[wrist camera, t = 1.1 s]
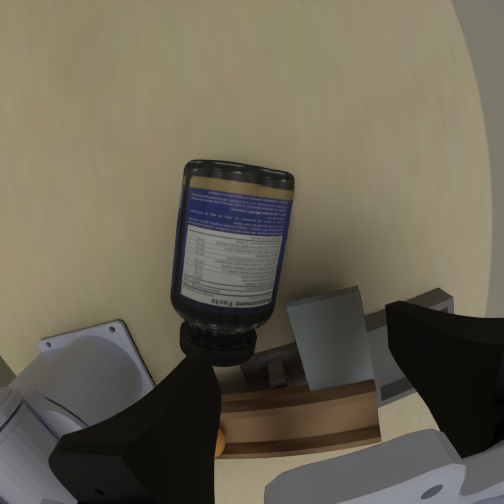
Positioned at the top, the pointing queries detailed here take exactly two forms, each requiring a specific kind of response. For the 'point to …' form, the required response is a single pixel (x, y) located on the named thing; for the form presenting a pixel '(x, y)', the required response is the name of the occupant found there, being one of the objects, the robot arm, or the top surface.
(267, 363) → the fulcrum
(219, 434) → the ball
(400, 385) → the tray
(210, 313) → the pill bottle
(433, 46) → the top surface
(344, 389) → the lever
